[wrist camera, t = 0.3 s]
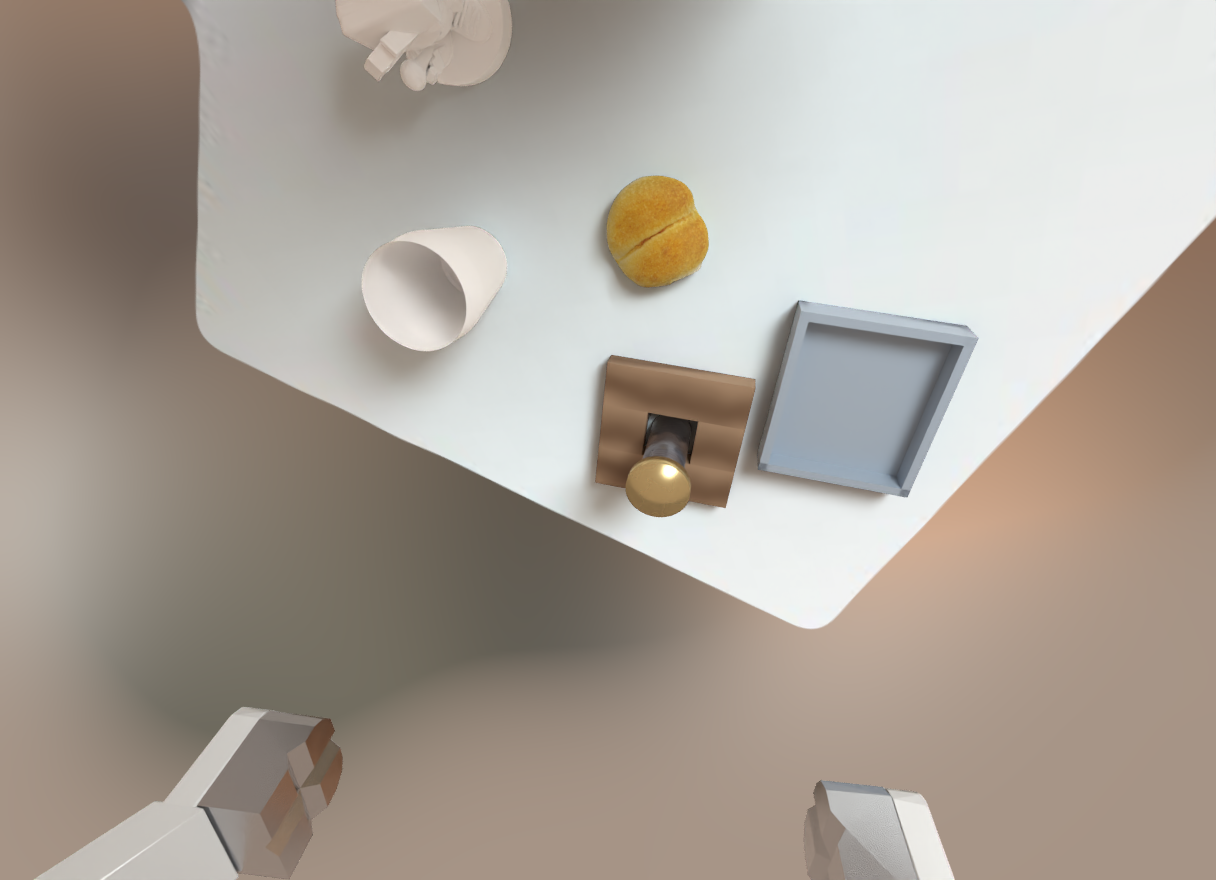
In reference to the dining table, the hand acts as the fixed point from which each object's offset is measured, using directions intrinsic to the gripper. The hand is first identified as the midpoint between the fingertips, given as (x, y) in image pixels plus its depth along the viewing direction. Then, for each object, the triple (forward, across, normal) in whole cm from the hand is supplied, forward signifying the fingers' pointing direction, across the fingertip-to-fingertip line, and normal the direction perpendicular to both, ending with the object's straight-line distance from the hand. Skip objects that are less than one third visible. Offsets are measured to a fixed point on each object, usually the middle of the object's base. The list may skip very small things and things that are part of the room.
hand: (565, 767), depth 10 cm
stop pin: (+48, -2, +18) cm, 51 cm away
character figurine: (+49, +17, -17) cm, 54 cm away
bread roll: (+48, 0, -1) cm, 48 cm away
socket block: (+48, -2, +18) cm, 51 cm away
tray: (+46, -18, +12) cm, 51 cm away
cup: (+49, +18, +2) cm, 52 cm away
